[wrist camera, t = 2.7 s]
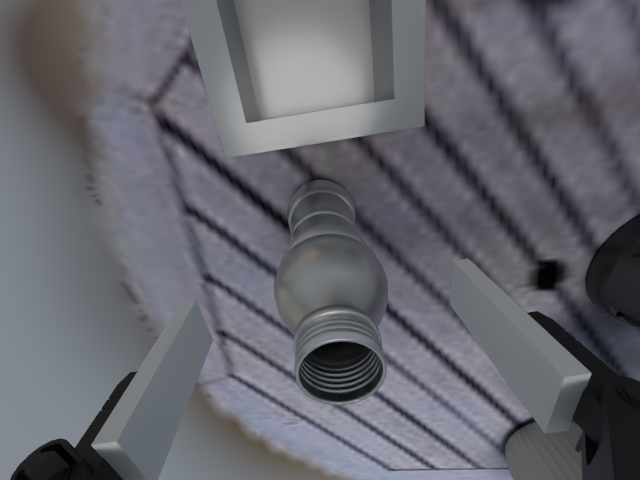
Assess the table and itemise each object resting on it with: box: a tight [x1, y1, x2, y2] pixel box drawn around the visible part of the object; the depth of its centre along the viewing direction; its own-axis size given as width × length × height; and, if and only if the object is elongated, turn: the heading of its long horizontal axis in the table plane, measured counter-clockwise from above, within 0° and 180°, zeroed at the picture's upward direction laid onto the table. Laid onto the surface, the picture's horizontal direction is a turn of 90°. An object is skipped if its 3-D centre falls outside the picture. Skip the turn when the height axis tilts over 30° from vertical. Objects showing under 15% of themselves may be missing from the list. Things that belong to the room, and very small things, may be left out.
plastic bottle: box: [274, 180, 388, 405], centre depth 20 cm, size 6×7×20 cm
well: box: [180, 0, 426, 158], centre depth 20 cm, size 14×14×7 cm
